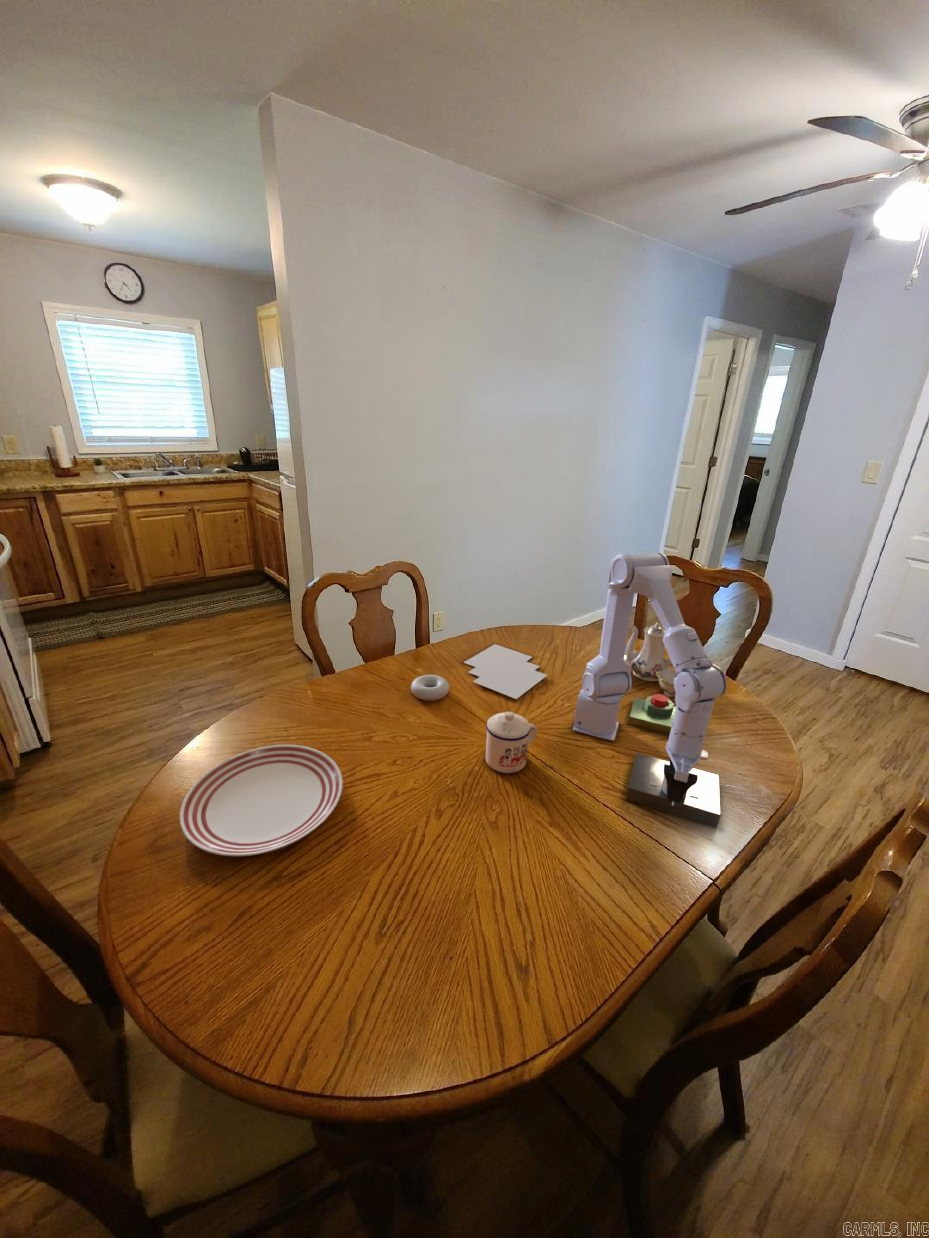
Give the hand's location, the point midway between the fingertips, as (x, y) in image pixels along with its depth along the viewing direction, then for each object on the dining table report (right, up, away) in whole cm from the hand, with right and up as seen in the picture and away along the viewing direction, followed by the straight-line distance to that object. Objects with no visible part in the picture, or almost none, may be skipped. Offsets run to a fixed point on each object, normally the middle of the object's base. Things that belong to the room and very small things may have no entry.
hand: (674, 788), depth 94 cm
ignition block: (+7, +7, +28) cm, 30 cm away
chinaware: (+11, +15, +48) cm, 51 cm away
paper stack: (-28, +17, +49) cm, 59 cm away
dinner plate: (-76, -2, -3) cm, 76 cm away
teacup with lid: (-30, +2, +12) cm, 32 cm away
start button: (+8, +11, +28) cm, 31 cm away
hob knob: (0, 0, 0) cm, 0 cm away
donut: (-49, +13, +36) cm, 62 cm away
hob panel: (+1, -2, +4) cm, 5 cm away
